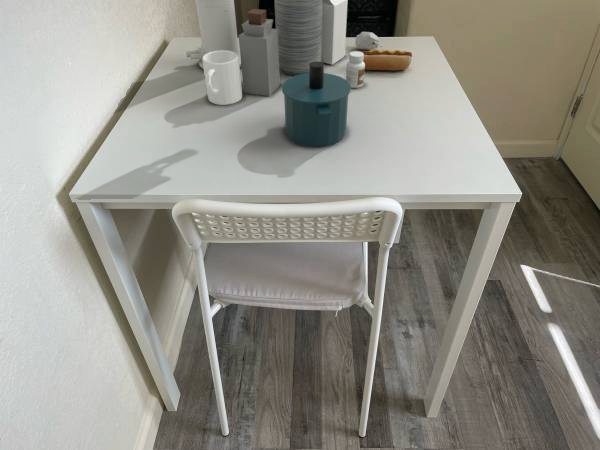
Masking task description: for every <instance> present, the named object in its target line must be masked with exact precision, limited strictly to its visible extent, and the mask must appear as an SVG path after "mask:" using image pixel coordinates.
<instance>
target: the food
mask: <svg viewBox="0 0 600 450" xmlns="http://www.w3.org/2000/svg"><path fill="white" fill-rule="evenodd" d="M360 52H362V53H363V54H364V58H363V62H364V63H365V70H366V71H405V70H407V69H408V68H410V66H411V63H412V60H413V59H412V57H413V53H412V52H411V51H406V50H403V51H401V50H399V49H396V50H395V49H394V50H389V49H383V50H379V49H370V50H361V51H360ZM365 70H364V71H365Z"/></svg>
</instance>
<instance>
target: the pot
mask: <svg viewBox="0 0 600 450" xmlns="http://www.w3.org/2000/svg"><path fill="white" fill-rule="evenodd" d="M283 98H284V100H283V101H284V127H285V128H284V129H285V135H286V137H287V138H288V139H289V140H290V141H291V142H292V143H295V144H297V145H300V146H304V147H307V148H323V147H328V146H333V145H335V144H337V143H339V142H340V141H342V140H343V139H344V137H346V136H345V135H346V131H347V123H348V122H347V121H348V107H349V95H348V96H347V97H346V98H344V99H342V100H340V101H337V102H334V103H329V104H320V105H313V104H304V103H299V102H296V101H293V100H291V99H289V98H287V97H286V96H285V95H284V94H283Z"/></svg>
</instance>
